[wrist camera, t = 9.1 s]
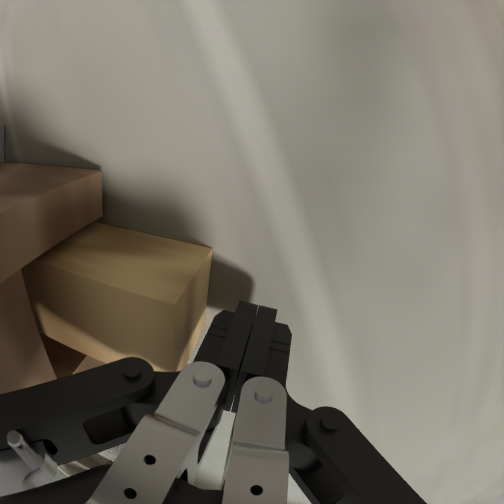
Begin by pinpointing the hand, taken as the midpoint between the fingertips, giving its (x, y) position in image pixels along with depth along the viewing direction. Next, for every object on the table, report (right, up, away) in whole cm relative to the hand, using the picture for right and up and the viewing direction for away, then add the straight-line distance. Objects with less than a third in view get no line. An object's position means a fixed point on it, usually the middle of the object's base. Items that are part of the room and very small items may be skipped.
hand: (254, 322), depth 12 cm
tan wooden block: (-7, +2, +1) cm, 7 cm away
